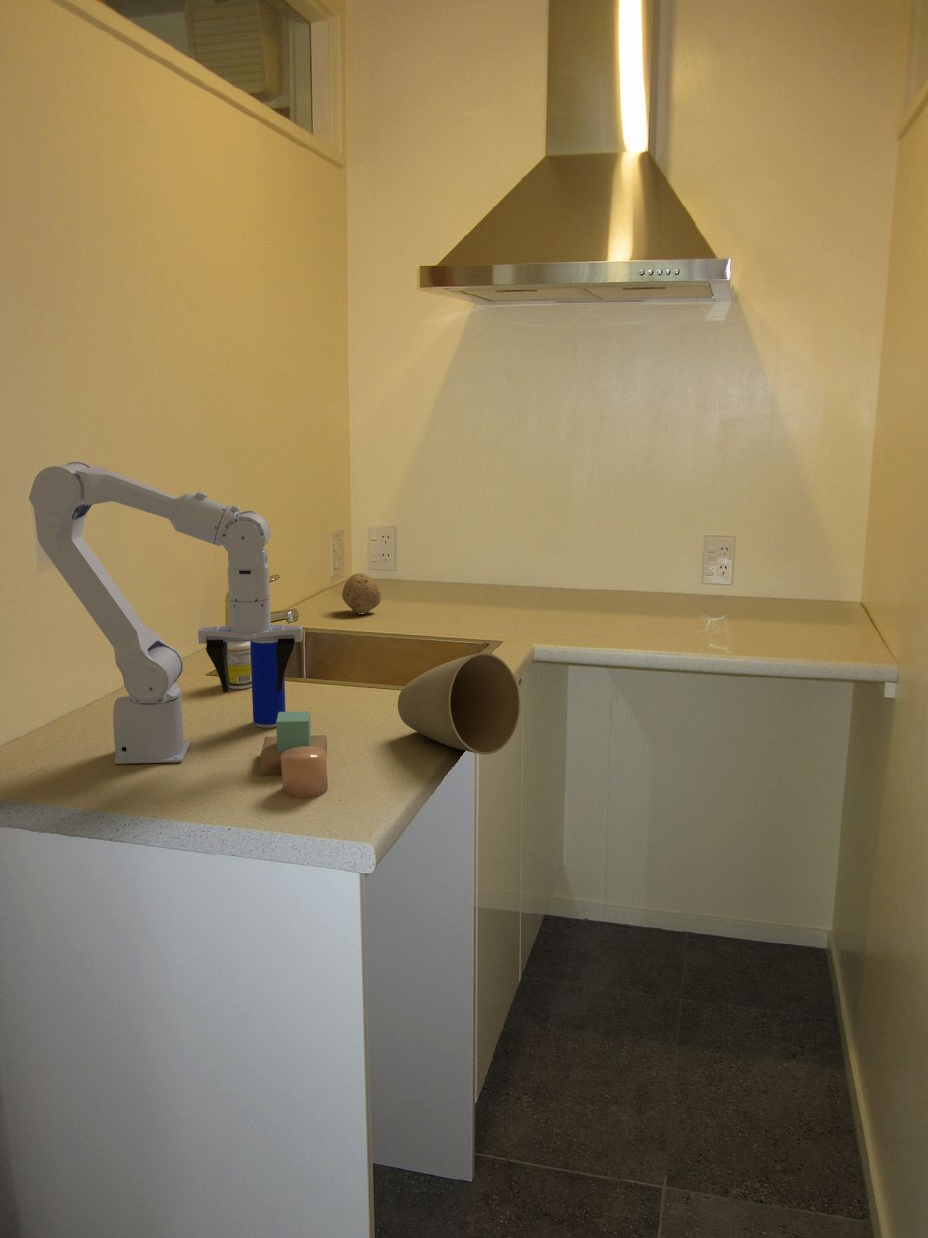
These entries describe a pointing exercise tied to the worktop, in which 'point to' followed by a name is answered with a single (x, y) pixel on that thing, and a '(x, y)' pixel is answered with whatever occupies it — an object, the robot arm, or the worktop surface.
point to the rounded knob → (304, 772)
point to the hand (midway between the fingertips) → (253, 689)
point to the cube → (293, 730)
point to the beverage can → (265, 684)
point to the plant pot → (464, 703)
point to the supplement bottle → (239, 665)
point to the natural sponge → (361, 593)
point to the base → (272, 758)
